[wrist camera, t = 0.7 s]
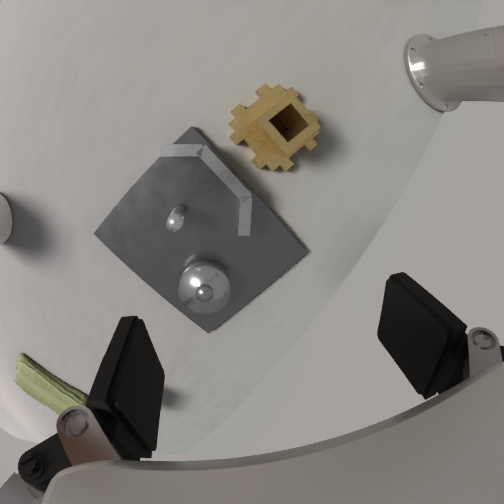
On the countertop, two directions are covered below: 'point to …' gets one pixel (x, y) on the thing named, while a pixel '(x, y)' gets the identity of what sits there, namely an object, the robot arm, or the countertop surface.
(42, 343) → the countertop surface
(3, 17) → the countertop surface
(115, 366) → the robot arm
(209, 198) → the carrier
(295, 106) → the gear
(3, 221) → the pill bottle
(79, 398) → the washcloth
